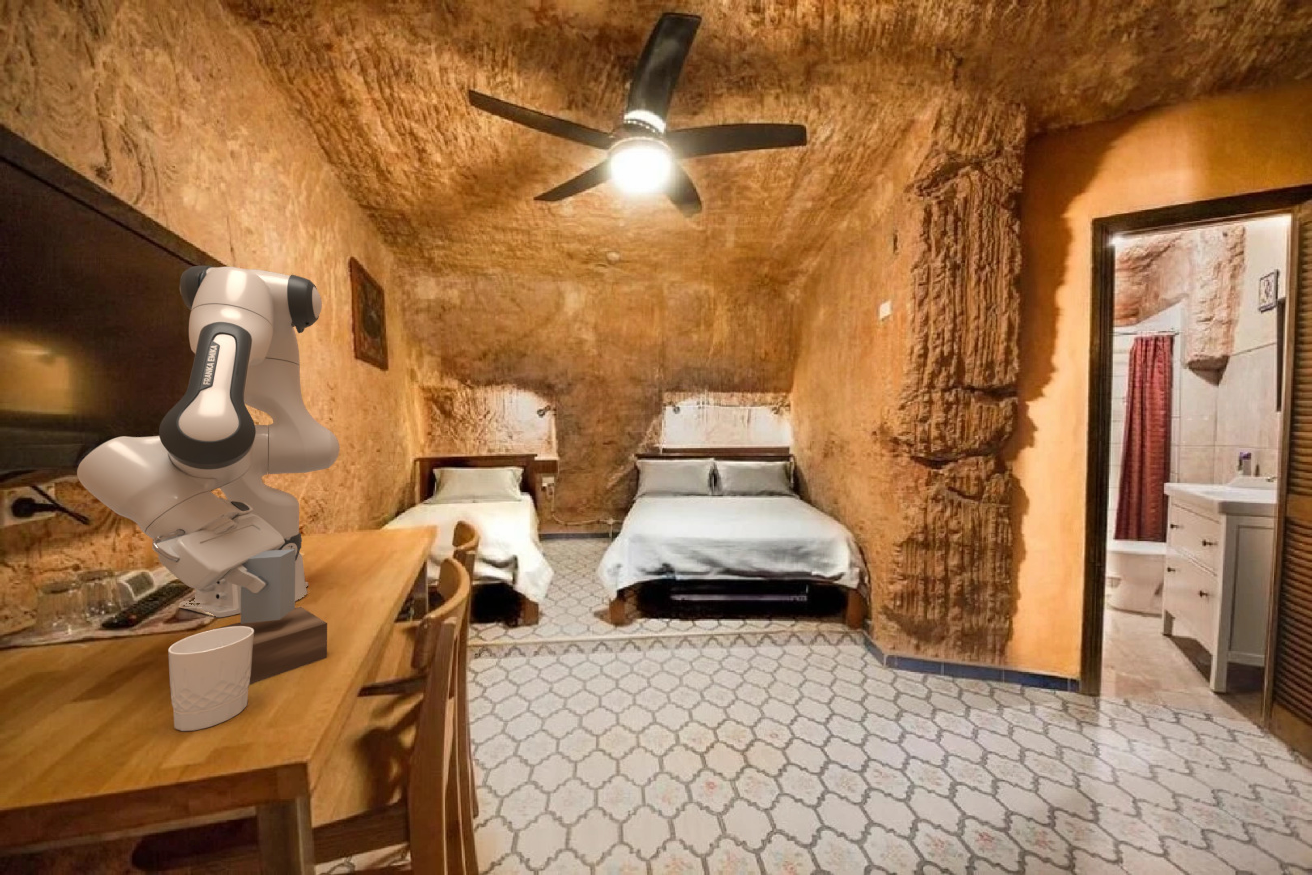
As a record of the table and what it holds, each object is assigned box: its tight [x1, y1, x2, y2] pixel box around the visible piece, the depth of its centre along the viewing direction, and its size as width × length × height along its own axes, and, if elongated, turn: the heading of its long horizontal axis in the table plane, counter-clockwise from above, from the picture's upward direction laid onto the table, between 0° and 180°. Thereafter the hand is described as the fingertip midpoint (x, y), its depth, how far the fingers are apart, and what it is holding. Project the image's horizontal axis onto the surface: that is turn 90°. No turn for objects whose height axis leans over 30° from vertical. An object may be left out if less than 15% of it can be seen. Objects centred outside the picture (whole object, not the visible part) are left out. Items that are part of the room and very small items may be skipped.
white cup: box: [167, 626, 254, 732], centre depth 57 cm, size 8×8×10 cm
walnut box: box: [207, 606, 328, 686], centre depth 70 cm, size 12×12×6 cm
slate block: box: [240, 549, 296, 624], centre depth 70 cm, size 5×5×10 cm
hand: (273, 581), depth 71 cm, fingers closed on slate block, 5 cm apart
